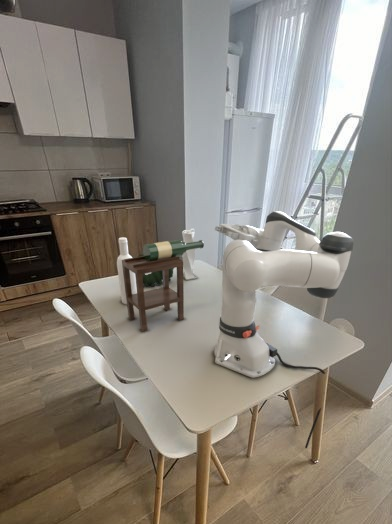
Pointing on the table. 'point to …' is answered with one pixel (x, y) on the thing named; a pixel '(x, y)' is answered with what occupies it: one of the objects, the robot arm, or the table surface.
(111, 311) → the table surface
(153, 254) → the bottle
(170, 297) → the stand
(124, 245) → the bottle
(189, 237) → the skyscraper
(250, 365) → the robot arm
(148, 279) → the toy figurine
